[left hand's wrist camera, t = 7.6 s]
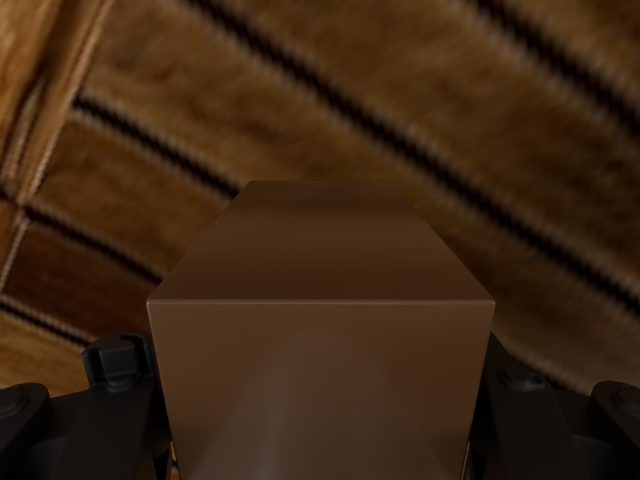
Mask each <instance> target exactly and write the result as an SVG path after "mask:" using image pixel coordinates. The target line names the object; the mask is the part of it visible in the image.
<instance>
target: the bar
mask: <svg viewBox="0 0 640 480" xmlns="http://www.w3.org/2000/svg"><path fill="white" fill-rule="evenodd" d="M146 305H147V310H148V316H149V321H150V326H151V331H152V336H153V342H154V347H155V352H156V357H157V363H158V368H159V373H160V378H161V384H162V389H163V394H164V399H165V405H166V410H167V415H168V420H169V425H170V431H171V436H172V441H173V446H174V452H175V457H176V462H177V467H178V473H179V478H180V480H460V479H461V474H462V469H463V464H464V459H465V454H466V449H467V444H468V439H469V435H470V430H471V425H472V420H473V415H474V410H475V405H476V400H477V395H478V390H479V385H480V380H481V375H482V370H483V365H484V360H485V355H486V350H487V345H488V340H489V335H490V330H491V325H492V321H493V316H494V311H495V306H496V303H495V300H494V299H493V298H492V296H491V295H490V294H489V293H488V292H487V291H486V290H485V288H484V287H483V286H482V285H481V284H480V283H479V282H478V280H477V279H476V278H475V277H474V276H473V275H472V274H471V272H470V271H469V270H468V269H467V268H466V267H465V266H464V264H463V263H462V262H461V261H460V260H459V259H458V258H457V257H456V255H455V254H454V253H453V252H452V251H451V250H450V249H449V247H448V246H447V245H446V244H445V243H444V242H443V241H442V239H441V238H440V237H439V236H438V235H437V234H436V233H435V231H434V230H433V229H432V228H431V227H430V226H429V225H428V223H427V222H426V221H425V220H424V219H423V218H422V217H421V215H420V214H419V213H418V212H417V211H416V210H415V209H414V207H413V206H412V205H411V204H410V203H409V202H408V201H407V199H406V198H405V197H404V196H403V195H402V194H401V193H400V191H399V190H398V189H397V188H396V187H395V186H394V185H393V183H392V182H390V181H249V183H248V184H247V185H246V186H245V187H244V188H243V189H242V191H241V192H240V193H239V194H238V195H237V196H236V198H235V199H234V200H233V201H232V202H231V203H230V204H229V206H228V207H227V208H226V209H225V210H224V211H223V212H222V214H221V215H220V216H219V217H218V218H217V219H216V221H215V222H214V223H213V224H212V225H211V226H210V227H209V229H208V230H207V231H206V232H205V233H204V234H203V235H202V237H201V238H200V239H199V240H198V241H197V242H196V244H195V245H194V246H193V247H192V248H191V249H190V250H189V252H188V253H187V254H186V255H185V256H184V257H183V259H182V260H181V261H180V262H179V263H178V264H177V265H176V267H175V268H174V269H173V270H172V271H171V272H170V273H169V275H168V276H167V277H166V278H165V279H164V280H163V282H162V283H161V284H160V285H159V286H158V287H157V288H156V290H155V291H154V292H153V293H152V294H151V295H150V296H149V298H148V299H147V302H146Z"/></svg>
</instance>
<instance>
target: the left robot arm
mask: <svg viewBox="0 0 640 480" xmlns="http://www.w3.org/2000/svg"><path fill="white" fill-rule="evenodd" d="M81 356H82V360H83V363H84V367H85V371H86V374H87V378H88V381H89V385H90V386H89V389H88V390H84V391H81V392H76V393H72V394H67V395H63V396H58V397H54V398H50V395H49V392H48V389H47V388H46V387H45V386H44V385H42V384H39V383H32V382H31V383H23V384H17V385H14V386H11V387H8V388H5V389H2V390H0V480H170V478H171V469H172V460H173V458H172V451H171V446H170V443H171V441H172V436H171V431H170V425H169V420H168V415H167V410H166V405H165V399H164V394H163V389H162V384H161V378H160V373H159V368H158V363H157V357H156V352H155V347H154V342H153V336H152V331H151V330H150V332H149V334H147V335H146V334H144V333H142V332H138V331H121V332H117V333H113V334H109V335H107V336H105V337H102V338H100V339H98V340H96V341H95V342H93V343H92V344H90V345H89V346H87V347H86V349H85V350H84V351H83V352H82V353H81ZM469 441H470V446H469V451H468V456H467V461H466V466H465V471H464V477H463V480H469V477H470V480H640V388H638V387H635V386H631V385H629V384H625V383H621V382H614V381H605V382H599V383H598V384H597V385H595V386H594V387H593V390H592V393H591V396H590V397H589V396H585V395H580V394H576V393H571V392H567V391H562V390H558V389H555V388H551V386H550V384H549V383H548V381H547V380H546V379H545V377H544V376H543V375H541V374H540V373H539V372H537V371H536V370H535V369H533V368H531V367H529V366H527V365H525V364H522V363H519V362H515V361H513V359H512V358H511V357H510V355H509V354H508V352H507V351H506V350H505V348H504V347H503V346H502V344H501V343H500V342H499V340H498V339H497V338H496V336H495V335H494V334H493V333H491V330H490V335H489V340H488V345H487V350H486V355H485V360H484V365H483V370H482V375H481V380H480V385H479V390H478V395H477V400H476V405H475V410H474V415H473V420H472V425H471V430H470V435H469Z"/></svg>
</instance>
